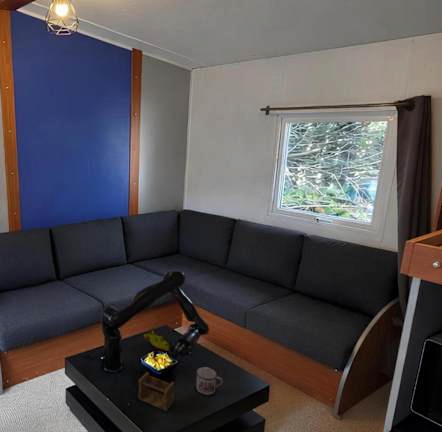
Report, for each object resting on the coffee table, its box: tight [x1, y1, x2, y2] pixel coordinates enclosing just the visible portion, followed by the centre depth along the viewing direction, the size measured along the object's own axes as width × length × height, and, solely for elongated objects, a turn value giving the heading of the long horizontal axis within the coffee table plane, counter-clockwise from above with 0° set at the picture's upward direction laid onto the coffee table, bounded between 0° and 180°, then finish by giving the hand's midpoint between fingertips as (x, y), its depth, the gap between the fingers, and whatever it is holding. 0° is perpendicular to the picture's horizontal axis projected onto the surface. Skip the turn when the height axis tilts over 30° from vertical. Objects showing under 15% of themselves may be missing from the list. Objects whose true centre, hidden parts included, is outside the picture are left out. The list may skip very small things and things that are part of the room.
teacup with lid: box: [195, 366, 223, 396], centre depth 190 cm, size 12×9×12 cm
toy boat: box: [143, 330, 170, 352], centre depth 228 cm, size 6×18×10 cm, turn 34°
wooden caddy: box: [137, 371, 176, 412], centre depth 183 cm, size 14×8×10 cm, turn 53°
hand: (172, 356), depth 195 cm, fingers closed
